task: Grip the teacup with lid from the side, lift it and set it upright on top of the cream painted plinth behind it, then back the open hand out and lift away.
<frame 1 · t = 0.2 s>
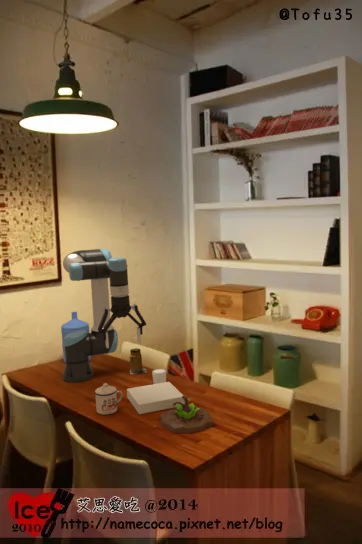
hand: (123, 344, 200), 27 cm above the table, tool pointing down, fingers open, 13 cm apart
teacup with lid: (110, 410, 201), on the table
white cup: (159, 385, 228), on the table
water jug: (77, 360, 273), on the table
plinth: (155, 401, 208), on the table
plant: (187, 423, 187), on the table
condiment: (138, 372, 249), on the table
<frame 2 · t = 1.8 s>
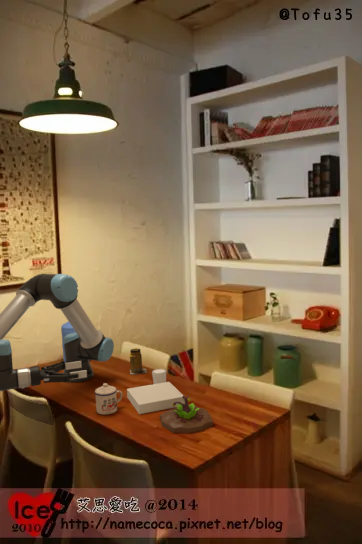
hand: (83, 368, 195), 19 cm above the table, tool horizontal, fingers open, 13 cm apart
nothing on the table moved.
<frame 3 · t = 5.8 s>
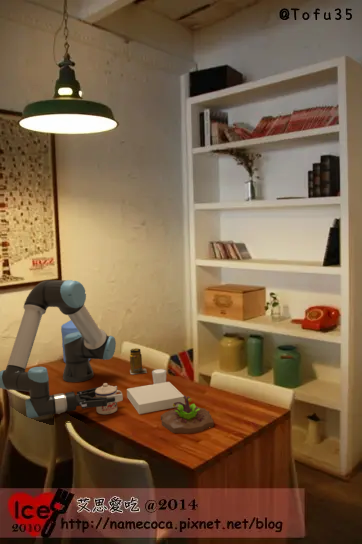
hand: (119, 393, 202), 7 cm above the table, tool horizontal, fingers closed on teacup with lid, 9 cm apart
teacup with lid: (110, 409, 201), on the table, touching gripper
everything else where it was.
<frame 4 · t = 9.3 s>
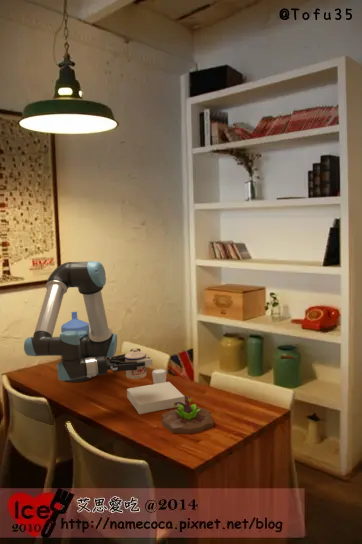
hand: (148, 358, 203), 20 cm above the table, tool horizontal, fingers closed on teacup with lid, 9 cm apart
teacup with lid: (139, 375, 203), point 13 cm above the table, touching gripper
everything else where it was.
when the fingers open (12 cm above the table, at t = 12.3 s): teacup with lid drops 1 cm, resting on plinth.
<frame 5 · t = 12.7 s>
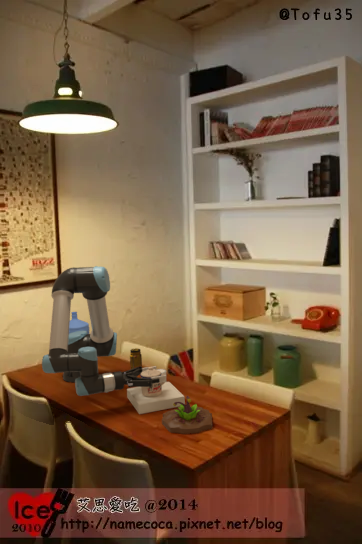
hand: (161, 373, 208), 12 cm above the table, tool horizontal, fingers open, 13 cm apart
teacup with lid: (154, 393, 207), point 4 cm above the table, touching plinth
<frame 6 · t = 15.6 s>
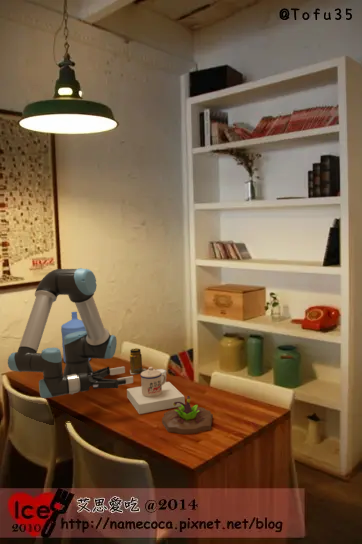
hand: (128, 374, 203), 14 cm above the table, tool horizontal, fingers open, 13 cm apart
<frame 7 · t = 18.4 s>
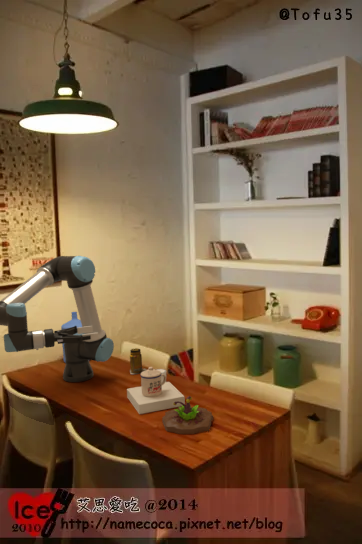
hand: (95, 332, 204), 32 cm above the table, tool horizontal, fingers open, 13 cm apart
at the end: teacup with lid inside the target area on the plinth (0.1 cm from its centre), point 3.8 cm above the plinth's base; teacup with lid tilted 0°; the gripper is holding nothing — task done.
